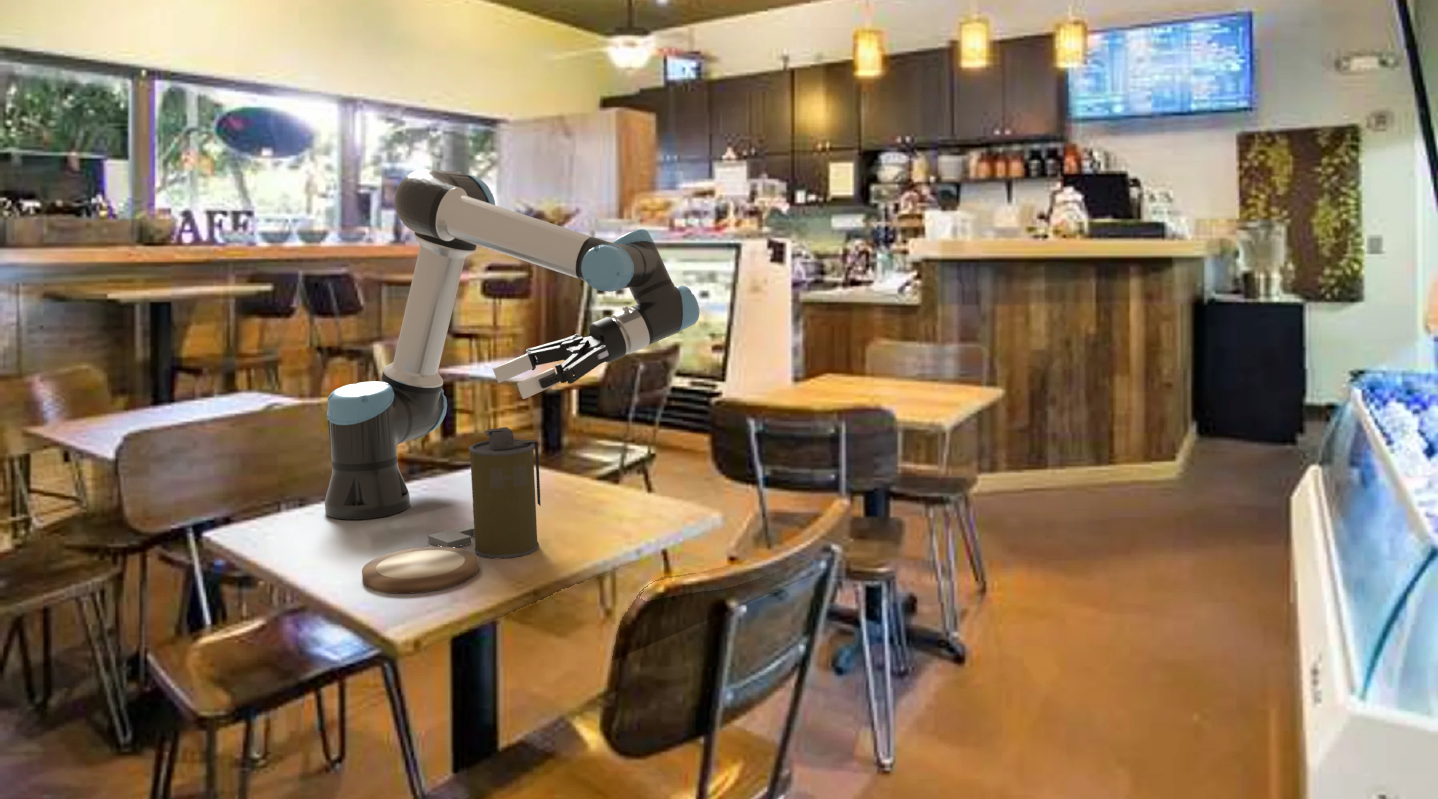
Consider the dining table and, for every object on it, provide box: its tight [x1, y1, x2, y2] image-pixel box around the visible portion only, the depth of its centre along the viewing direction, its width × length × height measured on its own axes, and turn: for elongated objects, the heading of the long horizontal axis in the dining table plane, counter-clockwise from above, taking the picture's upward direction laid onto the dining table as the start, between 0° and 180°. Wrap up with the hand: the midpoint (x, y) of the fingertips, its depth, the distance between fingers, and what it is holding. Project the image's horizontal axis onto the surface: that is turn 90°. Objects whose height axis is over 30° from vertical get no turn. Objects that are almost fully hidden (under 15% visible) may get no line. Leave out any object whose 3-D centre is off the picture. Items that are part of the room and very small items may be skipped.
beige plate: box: [361, 546, 480, 595], centre depth 152 cm, size 17×17×2 cm
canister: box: [468, 426, 541, 559], centre depth 162 cm, size 11×10×20 cm
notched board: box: [427, 523, 475, 548], centre depth 170 cm, size 6×12×1 cm, turn 138°
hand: (507, 383), depth 168 cm, fingers open, 13 cm apart
